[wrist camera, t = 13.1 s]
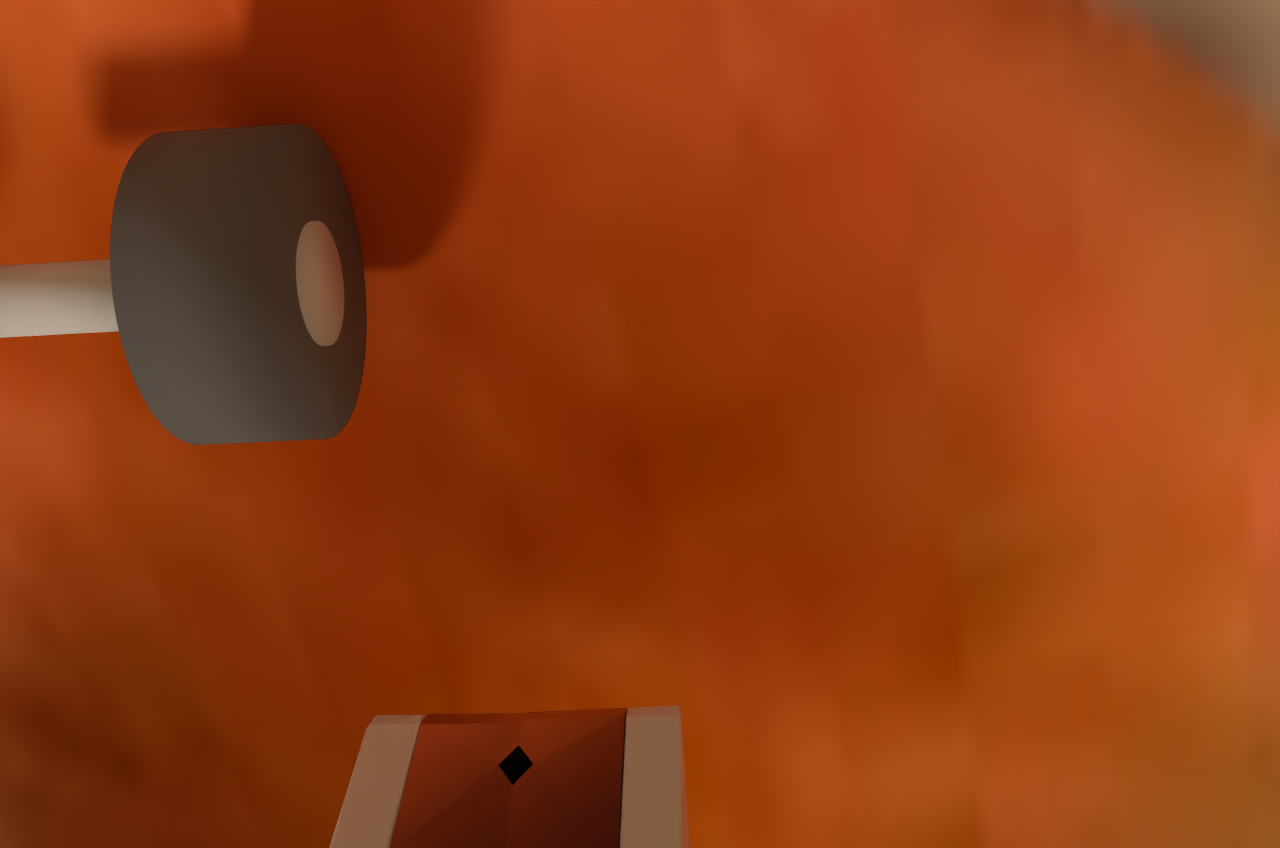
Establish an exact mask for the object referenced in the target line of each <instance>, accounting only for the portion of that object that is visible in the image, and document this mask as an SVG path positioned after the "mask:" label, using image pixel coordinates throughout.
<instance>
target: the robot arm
mask: <svg viewBox="0 0 1280 848" xmlns="http://www.w3.org/2000/svg"><path fill="white" fill-rule="evenodd" d="M329 848H689V833H688V816H687V799H686V782H685V766H684V751H683V735H682V719H681V711H680V707H678V706H662V707H637V708H628V709H627V708H610V709H586V710H563V711H540V712H527V713H475V714H427V715H376V716H375V717H374V719H373V720H372V722H371V723H370V724H369V726H368V727H367V728H366V731H365V735H364V738H363V741H362V744H361V748H360V751H359V754H358V757H357V760H356V764H355V767H354V770H353V773H352V776H351V780H350V783H349V786H348V789H347V792H346V796H345V799H344V802H343V805H342V809H341V812H340V815H339V818H338V821H337V825H336V828H335V831H334V834H333V837H332V841H331V844H330V847H329Z"/></svg>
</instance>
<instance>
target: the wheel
mask: <svg viewBox="0 0 1280 848" xmlns="http://www.w3.org/2000/svg"><path fill="white" fill-rule="evenodd" d="M366 325H367V314H366V292H365V279H364V270H363V261H362V255H361V248H360V242H359V237H358V232H357V227H356V223H355V218H354V214H353V210H352V207H351V203H350V200H349V196H348V193H347V190H346V187H345V184H344V181H343V179H342V176H341V174H340V171H339V169H338V167H337V164H336V162H335V161H334V159H333V157H332V155H331V153H330V151H329V150H328V148H327V146H326V145H325V143H324V142H323V141H322V140H321V138H320V137H319V136H318V135H317V134H316V133H315V132H314V131H313V130H312V129H310V128H309V127H307V126H305V125H302V124H283V125H267V126H251V127H236V128H220V129H205V130H189V131H174V132H163V133H158V134H155V135H153V136H151V137H149V138H147V139H146V140H145V141H144V142H143V143H142V144H141V145H140V146H139V147H138V148H137V149H136V150H135V152H134V153H133V155H132V156H131V158H130V159H129V161H128V164H127V166H126V168H125V170H124V172H123V175H122V178H121V181H120V184H119V187H118V190H117V195H116V199H115V204H114V208H113V216H112V224H111V238H110V259H107V260H89V261H72V262H55V263H37V264H20V265H3V266H0V338H3V337H21V336H40V335H58V334H77V333H95V332H114V331H119V334H120V338H121V342H122V346H123V349H124V352H125V355H126V358H127V362H128V365H129V367H130V370H131V372H132V375H133V377H134V380H135V382H136V385H137V387H138V388H139V390H140V392H141V394H142V396H143V398H144V400H145V402H146V404H147V405H148V407H149V408H150V410H151V411H152V413H153V414H154V416H155V417H156V418H157V419H158V421H159V422H160V423H161V424H162V425H163V427H165V428H166V429H167V430H168V431H169V432H170V433H171V434H172V435H174V436H175V437H177V438H179V439H180V440H182V441H184V442H187V443H190V444H196V445H207V444H228V443H249V442H270V441H291V440H312V439H328V438H332V437H334V436H336V435H337V434H338V433H340V432H341V431H342V430H343V428H344V427H345V426H346V424H347V423H348V421H349V419H350V417H351V415H352V413H353V410H354V408H355V405H356V402H357V398H358V395H359V391H360V386H361V382H362V376H363V369H364V361H365V351H366Z"/></svg>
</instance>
